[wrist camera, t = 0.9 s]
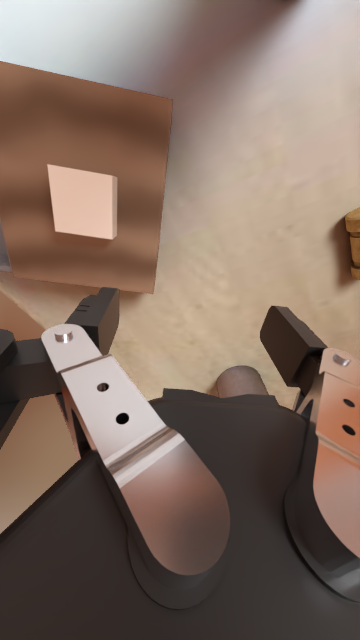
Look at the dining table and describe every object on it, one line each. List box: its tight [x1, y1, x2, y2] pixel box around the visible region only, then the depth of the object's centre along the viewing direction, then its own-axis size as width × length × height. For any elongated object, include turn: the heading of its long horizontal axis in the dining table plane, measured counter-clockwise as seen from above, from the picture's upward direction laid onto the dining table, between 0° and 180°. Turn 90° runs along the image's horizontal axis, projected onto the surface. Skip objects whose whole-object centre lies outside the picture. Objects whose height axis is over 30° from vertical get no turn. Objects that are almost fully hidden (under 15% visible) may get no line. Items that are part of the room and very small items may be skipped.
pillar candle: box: [217, 366, 269, 398], centre depth 42 cm, size 10×10×15 cm
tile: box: [47, 164, 117, 239], centre depth 24 cm, size 6×6×2 cm
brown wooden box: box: [0, 61, 172, 294], centre depth 27 cm, size 20×18×6 cm
